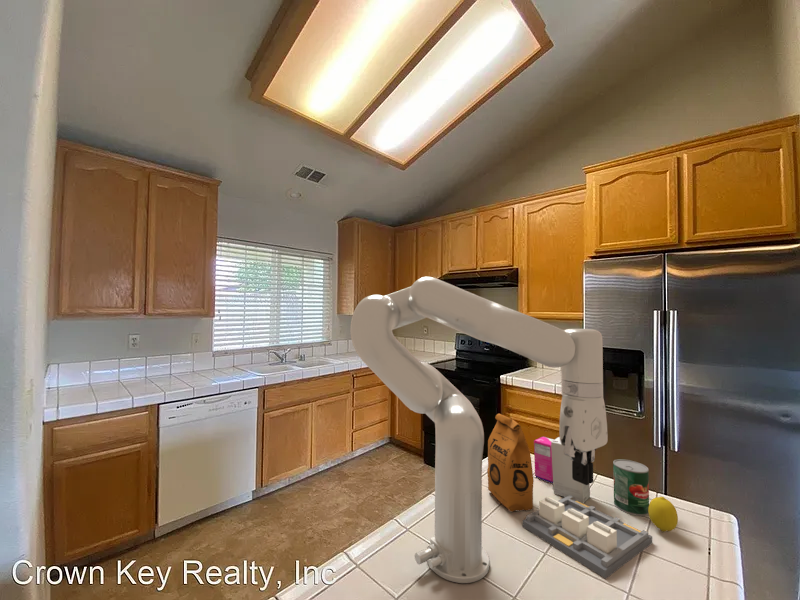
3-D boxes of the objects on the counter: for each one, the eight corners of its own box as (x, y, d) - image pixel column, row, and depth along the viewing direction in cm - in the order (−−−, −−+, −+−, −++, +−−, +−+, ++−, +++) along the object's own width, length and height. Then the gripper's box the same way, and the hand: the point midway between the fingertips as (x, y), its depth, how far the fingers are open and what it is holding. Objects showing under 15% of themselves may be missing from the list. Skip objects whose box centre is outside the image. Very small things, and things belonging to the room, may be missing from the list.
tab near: (606, 557, 70) (606, 533, 70) (587, 545, 73) (587, 523, 73) (616, 550, 72) (616, 527, 72) (597, 539, 75) (597, 517, 75)
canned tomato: (618, 496, 97) (617, 456, 97) (652, 507, 91) (651, 465, 92) (610, 507, 91) (609, 464, 92) (646, 520, 86) (645, 474, 86)
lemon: (649, 521, 85) (648, 488, 85) (678, 531, 81) (677, 496, 82) (647, 532, 81) (647, 497, 81) (678, 542, 77) (677, 506, 77)
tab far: (554, 527, 80) (554, 506, 80) (539, 518, 83) (539, 498, 83) (564, 521, 82) (564, 501, 82) (549, 513, 85) (549, 494, 85)
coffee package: (503, 515, 87) (504, 426, 88) (483, 490, 99) (483, 413, 100) (539, 511, 89) (539, 425, 90) (515, 487, 101) (515, 411, 102)
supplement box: (543, 471, 112) (542, 435, 112) (561, 478, 107) (560, 441, 108) (533, 476, 108) (533, 439, 109) (552, 484, 104) (551, 445, 104)
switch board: (605, 578, 66) (605, 565, 66) (522, 526, 82) (522, 516, 82) (652, 543, 77) (652, 531, 77) (570, 503, 93) (570, 493, 93)
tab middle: (579, 541, 75) (578, 519, 75) (561, 531, 78) (561, 510, 78) (589, 535, 77) (588, 513, 77) (571, 525, 80) (571, 505, 80)
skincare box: (590, 497, 96) (589, 443, 97) (582, 505, 92) (582, 448, 93) (559, 486, 102) (559, 435, 103) (551, 493, 98) (550, 440, 99)
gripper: (578, 397, 63) (579, 500, 62) (620, 389, 71) (621, 479, 70) (542, 389, 69) (542, 483, 69) (584, 382, 78) (585, 466, 77)
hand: (582, 480), depth 69 cm, fingers closed
